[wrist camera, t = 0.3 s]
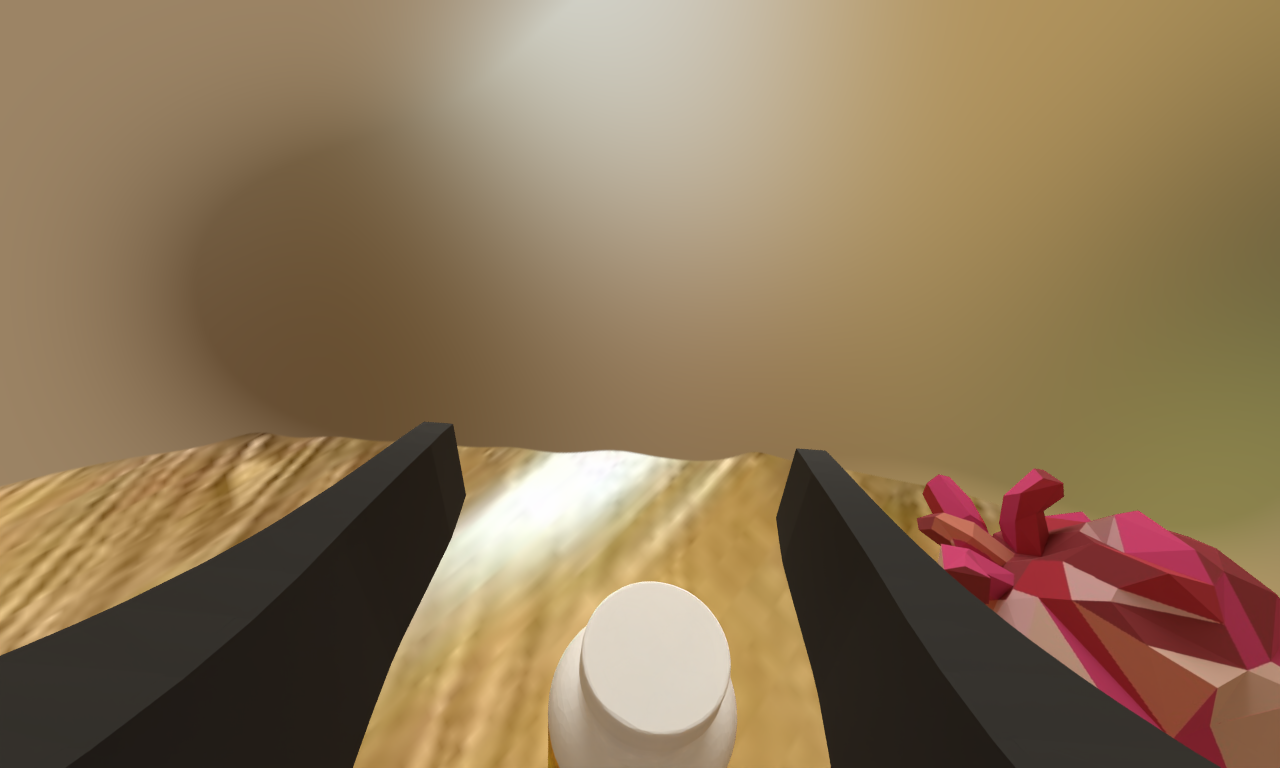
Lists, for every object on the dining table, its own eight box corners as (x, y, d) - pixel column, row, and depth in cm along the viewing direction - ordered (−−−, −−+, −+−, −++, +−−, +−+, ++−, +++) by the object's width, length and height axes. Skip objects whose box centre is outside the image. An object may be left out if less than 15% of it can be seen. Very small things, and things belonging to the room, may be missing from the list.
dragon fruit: (1226, 698, 28) (946, 438, 33) (1650, 807, 16) (1115, 376, 21) (1087, 897, 25) (804, 580, 30) (1475, 1203, 14) (907, 601, 18)
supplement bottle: (607, 939, 19) (642, 856, 11) (520, 773, 23) (504, 629, 15) (723, 799, 23) (806, 668, 15) (632, 677, 26) (662, 525, 19)
